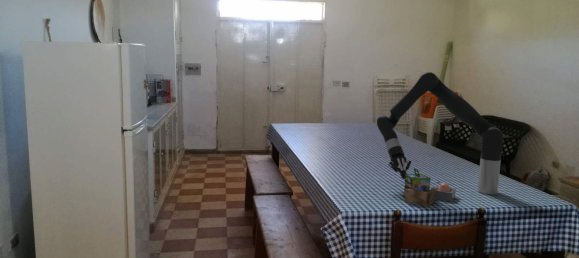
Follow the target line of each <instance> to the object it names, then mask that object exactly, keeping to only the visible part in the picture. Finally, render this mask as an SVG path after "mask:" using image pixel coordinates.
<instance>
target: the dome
mask: <svg viewBox="0 0 579 258" xmlns="http://www.w3.org/2000/svg"><path fill="white" fill-rule="evenodd" d="M437 186H438V190H439V191H446V192H450V188H451V187H450V186H449V184H447V183H446V182H444V183H443V182H442V183H440V185H437Z"/></svg>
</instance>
